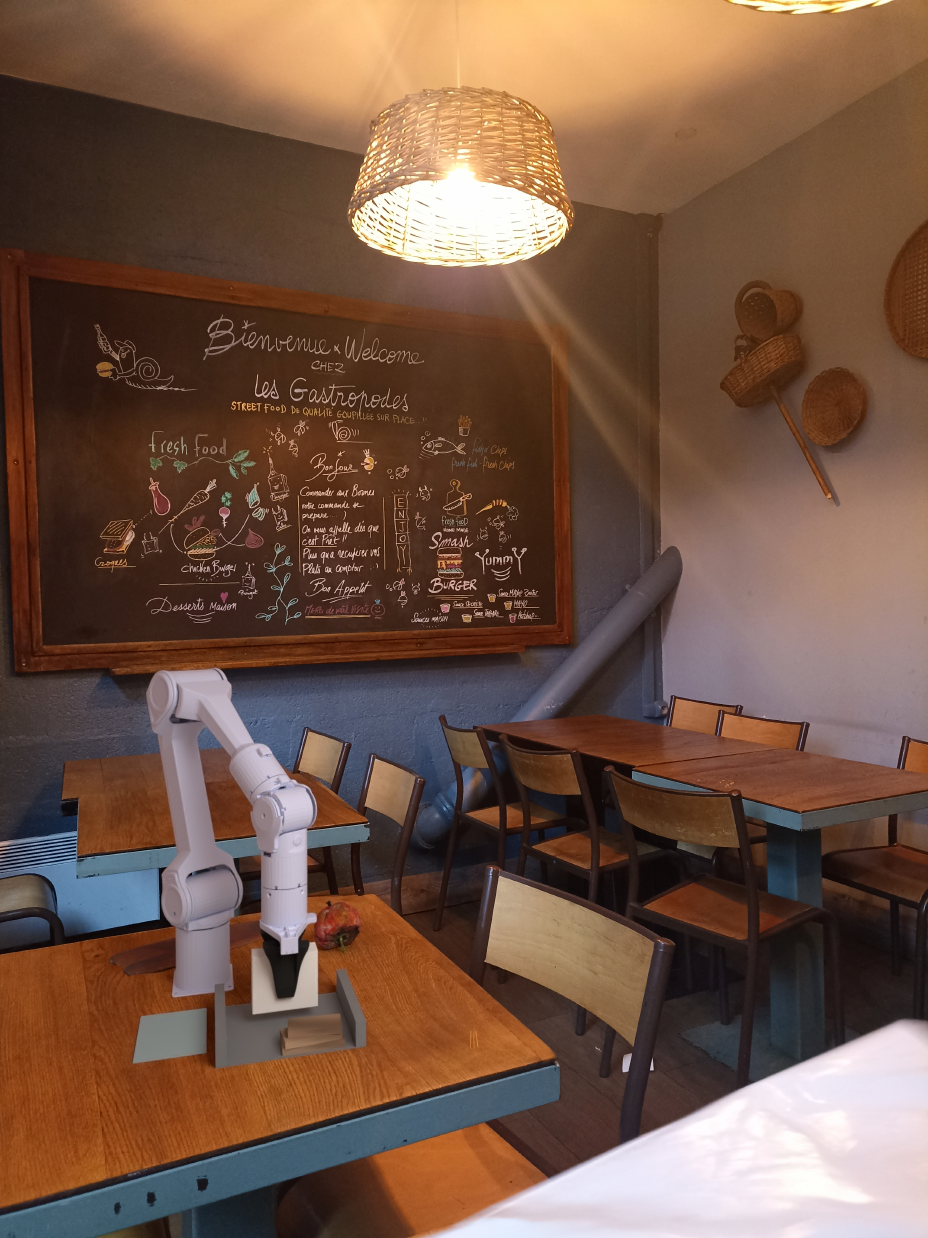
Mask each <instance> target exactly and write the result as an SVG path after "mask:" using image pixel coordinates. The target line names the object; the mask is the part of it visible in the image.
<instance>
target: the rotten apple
mask: <svg viewBox="0 0 928 1238" xmlns="http://www.w3.org/2000/svg"><path fill="white" fill-rule="evenodd" d="M325 904H326V905H327V906H325V907H324V908H322V909H321V910H320V911H319V912H318V913H317V914H316V916H317V922H315V923H314V927H313V929H314V939H315V942H316V943H317V944H318V945H320V946H321V947H322V948H323V949H324V950H332V949H335V948H338V946H339V947H341V948H342V951H343V953H344V954H346V951H345V950H346V949H345V948H346V946H348V945H350V944H352V943H354V942H355V940H356V938H357V937H359V934H360V933H361V932H362V930H363V929H362V928H363V920H362V915H361V914H360V913H359V912H358V910H356V909H357V908H355V907H353V906H351V905H349V904H348V903H346V902H343V901H338V902H337V901H336V902H334V903H332V902H331V900H327V902H325Z"/></svg>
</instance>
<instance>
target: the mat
mask: <svg viewBox="0 0 928 1238" xmlns="http://www.w3.org/2000/svg"><path fill="white" fill-rule="evenodd" d="M207 1011H208V1009H207V1007H204V1008H196V1009H188V1010H180V1011H174V1012H165V1013H157V1014H149V1015H142V1016H140V1019H139V1024H138V1025H139V1026H138V1030H137V1031H138V1032H137V1035H136V1042H135V1048H134V1053H133V1058H132V1064H139V1063H140V1064H141V1063H145V1062H152V1061H160V1060H168V1059H175V1058H180V1057H181V1058H182V1057H188V1056H196V1055H201V1054H207V1039H208V1037H207V1036H208V1035H207V1031H208V1030H207V1027H208V1026H207V1025H208V1024H207V1022H208V1021H207V1020H208V1018H207V1016H208V1015H207V1014H208V1012H207Z"/></svg>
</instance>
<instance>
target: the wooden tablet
mask: <svg viewBox="0 0 928 1238" xmlns="http://www.w3.org/2000/svg"><path fill="white" fill-rule="evenodd" d="M260 930H261V928H260V919H259V920H257V919H256V920H249V921H244V922H243V921H242V922H238V923H234V924H230V950H232V949H236V948H239V947H243V946H245V945H249V944H252V943H253V942H257V941H260V940H263V938H262V936H261V933H260ZM109 962H110V963H111V964H112V965H115V966H117V967H123V969H122V971H123V972H124V973H125V974H126V976H129V977H131V976H138V975H146V974H155V973H157V972H160V971H161V972H162V971H165V970H168V969H171V968H176V936H175V937H171V938H168V939H163V940H160V941H156V942H152V943H149V944H144V945H141V946H137V947H135V948H131V949H127V950H123V951H121V952H118V953H115V954H113V955H111V957H110V959H109Z"/></svg>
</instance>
